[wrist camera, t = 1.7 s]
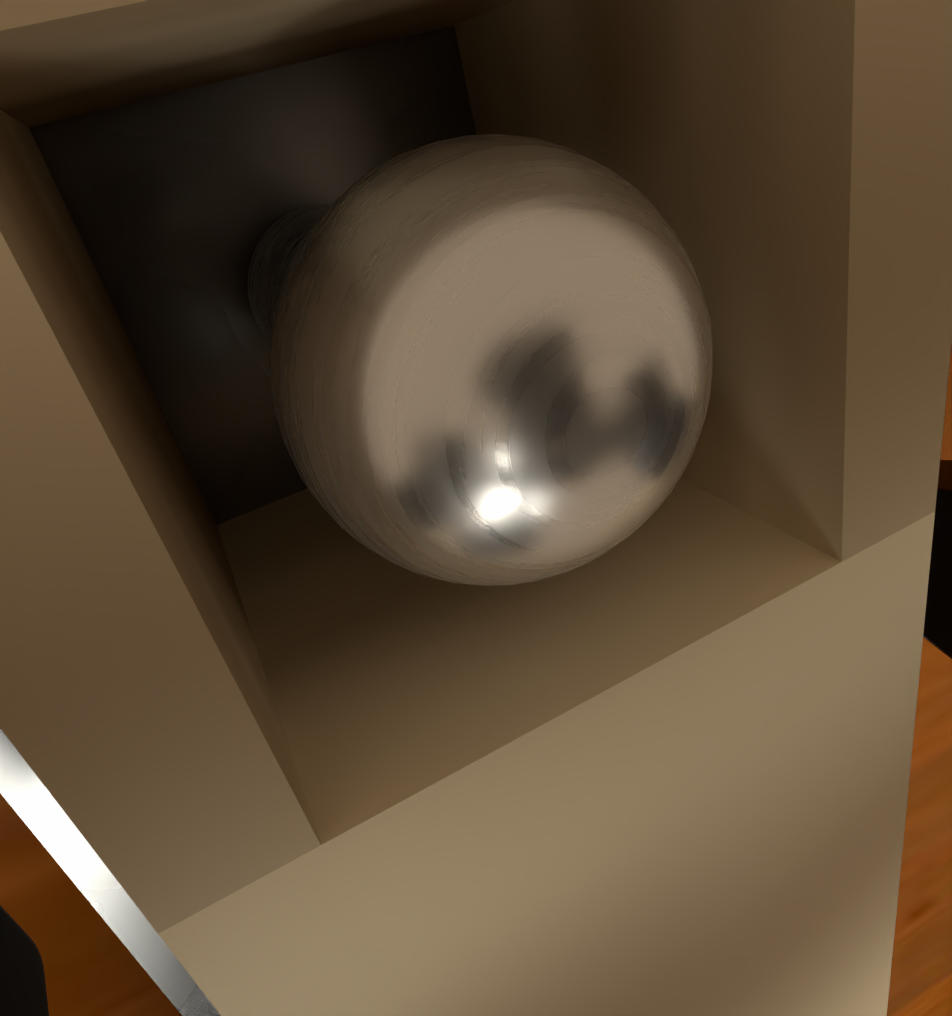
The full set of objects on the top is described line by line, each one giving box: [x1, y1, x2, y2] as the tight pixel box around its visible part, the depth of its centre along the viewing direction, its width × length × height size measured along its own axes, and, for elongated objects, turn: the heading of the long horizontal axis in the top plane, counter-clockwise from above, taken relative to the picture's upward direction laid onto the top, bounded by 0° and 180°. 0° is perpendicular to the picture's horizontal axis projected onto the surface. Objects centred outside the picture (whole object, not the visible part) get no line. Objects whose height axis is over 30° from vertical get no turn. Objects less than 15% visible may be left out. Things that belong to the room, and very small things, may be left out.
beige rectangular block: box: [0, 0, 952, 1016], centre depth 6 cm, size 12×5×4 cm, turn 13°
